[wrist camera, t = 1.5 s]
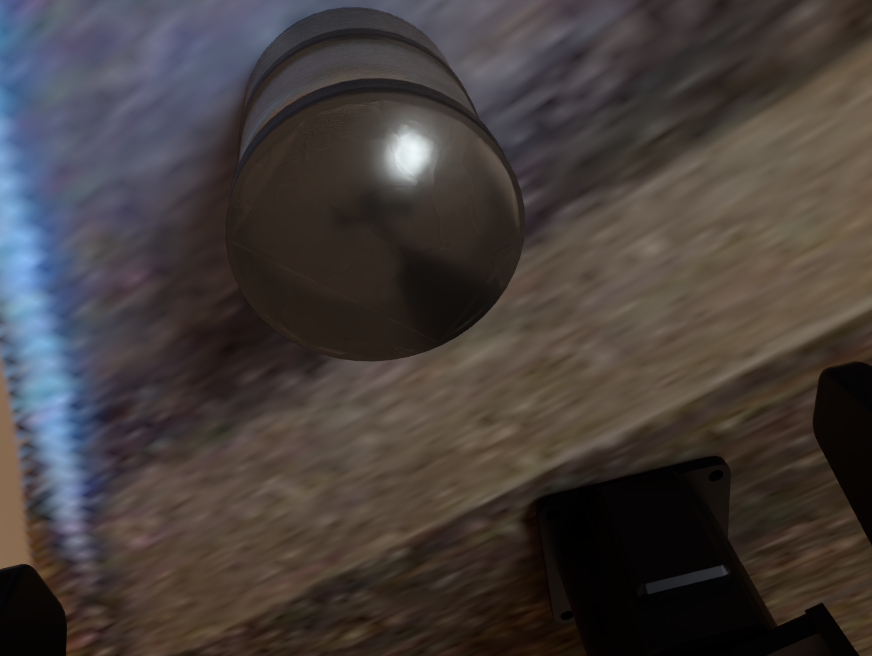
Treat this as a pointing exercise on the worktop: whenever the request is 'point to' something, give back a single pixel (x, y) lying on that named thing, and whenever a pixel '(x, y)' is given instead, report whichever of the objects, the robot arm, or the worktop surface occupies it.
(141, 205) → the worktop surface
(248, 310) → the worktop surface
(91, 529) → the worktop surface
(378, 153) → the lens
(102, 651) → the worktop surface
